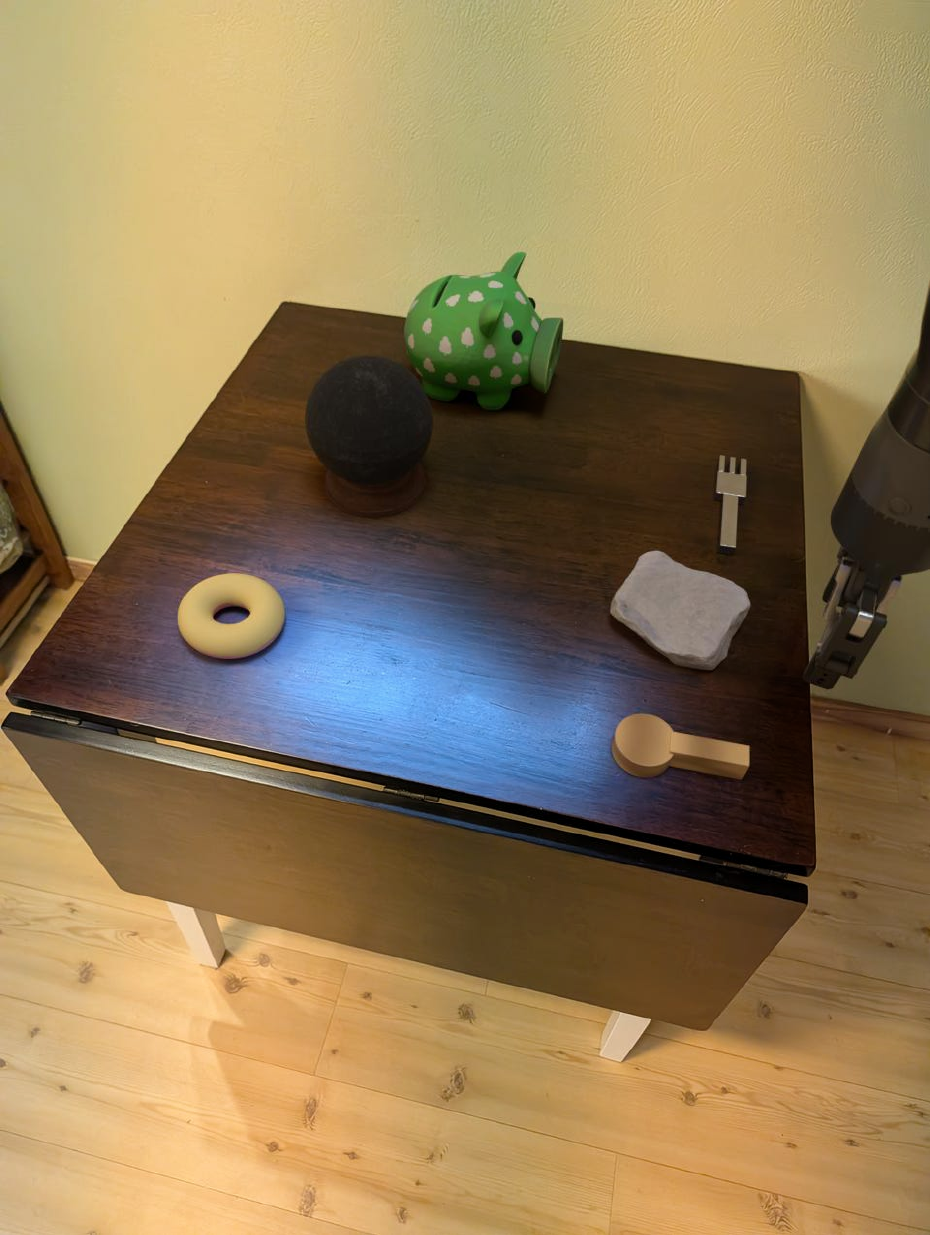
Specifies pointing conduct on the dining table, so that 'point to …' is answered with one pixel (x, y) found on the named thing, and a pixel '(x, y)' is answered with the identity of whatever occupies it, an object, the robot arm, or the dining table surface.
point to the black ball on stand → (370, 435)
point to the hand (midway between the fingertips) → (826, 640)
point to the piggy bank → (481, 337)
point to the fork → (729, 501)
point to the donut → (231, 637)
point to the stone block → (681, 610)
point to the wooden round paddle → (673, 750)
